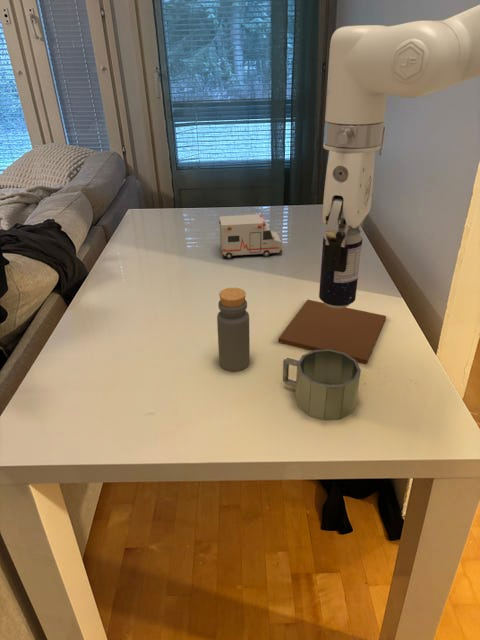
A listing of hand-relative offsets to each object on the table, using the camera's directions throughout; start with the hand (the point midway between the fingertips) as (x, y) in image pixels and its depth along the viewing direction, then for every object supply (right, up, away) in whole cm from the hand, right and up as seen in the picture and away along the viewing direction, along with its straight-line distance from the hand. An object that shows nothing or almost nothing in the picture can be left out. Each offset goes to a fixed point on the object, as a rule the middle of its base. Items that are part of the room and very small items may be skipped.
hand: (340, 260), depth 71 cm
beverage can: (0, -6, +4) cm, 7 cm away
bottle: (-16, -17, +19) cm, 30 cm away
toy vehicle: (-12, +11, +65) cm, 67 cm away
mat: (+5, -11, +28) cm, 31 cm away
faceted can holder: (-2, -22, +10) cm, 25 cm away
